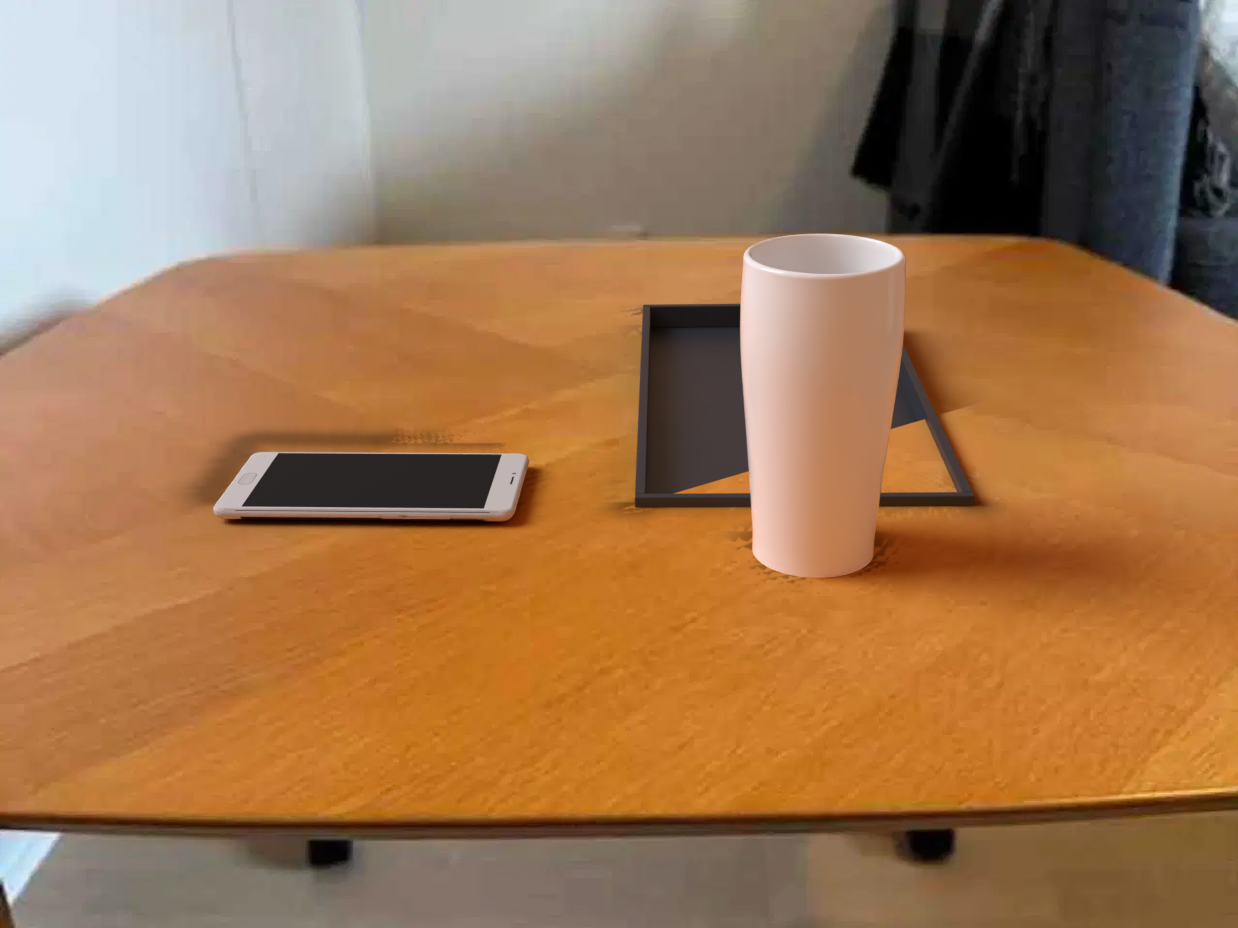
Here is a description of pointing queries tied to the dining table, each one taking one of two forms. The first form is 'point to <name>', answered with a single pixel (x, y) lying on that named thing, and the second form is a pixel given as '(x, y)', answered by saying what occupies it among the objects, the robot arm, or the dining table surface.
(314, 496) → the smartphone
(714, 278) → the dining table surface
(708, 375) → the tray
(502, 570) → the dining table surface
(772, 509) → the drinking glass
